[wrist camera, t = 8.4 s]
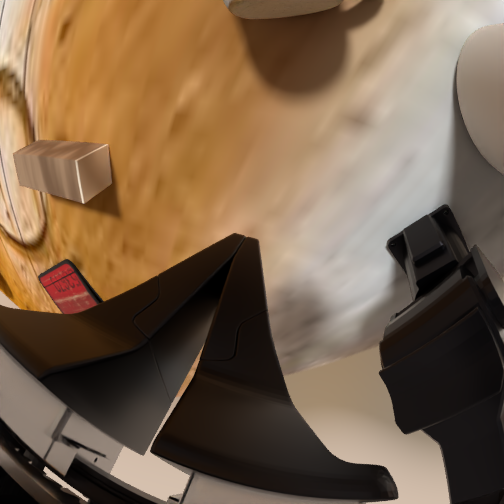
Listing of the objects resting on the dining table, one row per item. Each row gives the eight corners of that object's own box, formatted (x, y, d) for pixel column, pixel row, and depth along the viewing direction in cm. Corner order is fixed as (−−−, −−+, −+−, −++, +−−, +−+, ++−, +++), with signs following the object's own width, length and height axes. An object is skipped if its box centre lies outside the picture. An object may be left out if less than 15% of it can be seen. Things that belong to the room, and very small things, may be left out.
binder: (119, 332, 43) (76, 331, 53) (126, 323, 45) (81, 325, 54) (63, 259, 36) (34, 278, 46) (72, 251, 38) (41, 271, 48)
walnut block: (77, 160, 20) (12, 153, 21) (84, 203, 22) (19, 185, 24) (108, 144, 23) (38, 139, 25) (112, 183, 26) (43, 170, 28)
